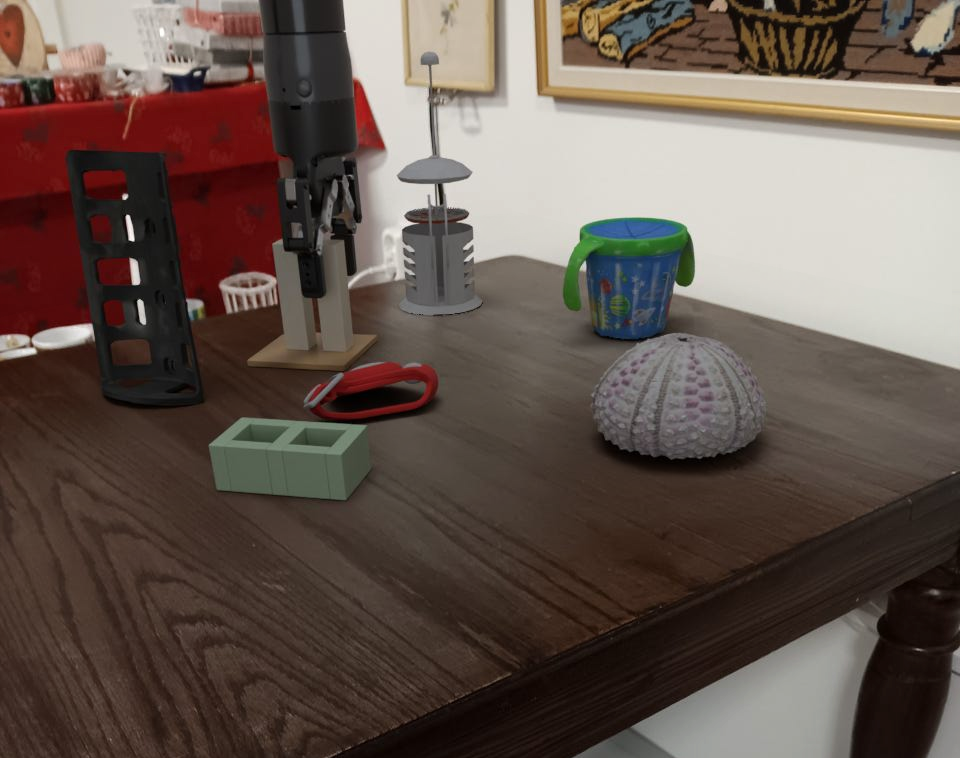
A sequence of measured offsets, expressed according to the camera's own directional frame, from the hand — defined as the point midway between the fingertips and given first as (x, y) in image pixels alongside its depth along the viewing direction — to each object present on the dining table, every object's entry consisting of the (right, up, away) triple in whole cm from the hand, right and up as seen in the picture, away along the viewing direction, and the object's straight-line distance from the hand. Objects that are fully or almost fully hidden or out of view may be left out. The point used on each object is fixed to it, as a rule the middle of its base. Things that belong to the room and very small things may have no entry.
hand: (330, 285), depth 95 cm
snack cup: (+30, -2, +8) cm, 31 cm away
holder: (-15, -11, -4) cm, 19 cm away
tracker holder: (+4, -14, -9) cm, 17 cm away
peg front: (0, -5, +3) cm, 6 cm away
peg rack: (+1, -22, -22) cm, 31 cm away
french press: (+10, +4, +18) cm, 21 cm away
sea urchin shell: (+30, -18, -17) cm, 39 cm away
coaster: (-2, -5, +4) cm, 7 cm away
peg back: (-4, -5, +4) cm, 7 cm away
